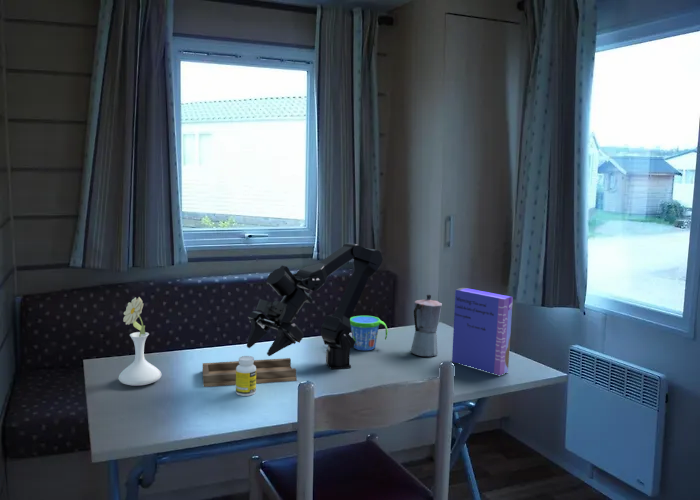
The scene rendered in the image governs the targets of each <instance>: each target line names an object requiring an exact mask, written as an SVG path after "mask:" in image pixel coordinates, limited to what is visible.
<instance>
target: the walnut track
mask: <svg viewBox="0 0 700 500" xmlns="http://www.w3.org/2000/svg"><path fill="white" fill-rule="evenodd" d="M291 360H292V359H291V358H290V357H289V358H288V357H287V358H286V357H285V358H271V359H254V363H253V365H255V366H256V384H267V383H268V384H269V383H280V382H295V381H296V382H297V381H298V380H297V379H298V378H297V369H296V368H295V367H294V368H292V366H291V365H292V363H291ZM238 365H240V364H239V360H237V361H236V360H235V361H233V360H232V361H219V362H202V383H203V384H202V385H203V388H207V387H210V388H211V387H225V386H236V367H237V366H238Z"/></svg>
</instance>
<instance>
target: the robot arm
mask: <svg viewBox="0 0 700 500" xmlns="http://www.w3.org/2000/svg"><path fill="white" fill-rule="evenodd" d="M351 260H353V264H352V265H353V273H352V275H351V277H350V280H349V282H348V284H347V286H346V289H345V291H344V293H343V295H342V297H341V299H340V302H339V304H338V306H337V308H336V311H335V312H334V313H332V314H331V315H329V314H326V316H325V317H324V320H323V323H322V324H321V325H320V327H321V330H320V334H321V338H322V340H323V343H324V345H326V346H327V350H325V353H326V354H325V363H326V365H327V366H328V368H329V369H330V370H337V369H351V368H352V366H351V364H350V360H351V359H350V355H351V354H350V353H351V349H353V348H354V344H355V340H354V339H353V338H352V335H350V334H351V333H350V332H351V325H350V318H351V317H353V316H352V315H353V313H354V310H355V309H356V306H357V304H358V302H359V300H360V298H361V296H362V294H363V291H364V289H365V287H366V285H367V282H368V280H369V278H371V277H372V276H373V275H374V274H375V273H376V272H378V270H379V268H380V266H381V264H382V263H383V255H382V253H381V251H380V250H378V249H372V248H368V247H367V248H366V247H362V246H360V245H359V244H356V243H352V242H346V243H344V244H343V245H342V247H340V248H339V249H338V250H336V251H334V252H333V253H332V254H329V255H328V256H327V257H325V258H324V259H322V260H321V261H319V262H318V263H315V264H310V265H307V266H305V267H302V268H300V269H299V270H297V272H295V273H292V272H291V270H290V269H289V268H288V266H287V265H281V266H280V267H279V268H277V269H275V270H272V272H270V273H269V274H268V276H267V278H266V281H267V284H269V286H270V287H271V288H272V289H273V290H274V291H275V292H276V293H277V295H278V296H280V297H282V299H281V301H278V300H274V301H273V302H271V301H268V300H264V299H261V298H259V301H258V302H257V303H258V304H257V306H256V309H255V310H254V311H251V312H250V314H249V315H248V316H247V318H248V319H249V323H251V324H250V325H251V330H250V334H249V337H248V340H247V344H246V347H247V348H248V349H250V348H252V347H253V346H254V345H255V344H257V342H259V341H260V340H261V339H262V338H263V337H265V335H266V334H267V333H268V332H267V331H268V330H270V328H271V329H274V330H275V331H276V330H277V334H276V335H277V336H276V337H275V339H274V341H273V342H272V344H271V345H270V347H269V348H268V350H267V352H266V355H267V356H268V357H271V356H273V355H274V354H276V353H278V352H280V351H281V350H283V349H284V348H288V347H289V346H291V345H295V344H296V342H297V343H300V342H301V341H302V340H303V338H304V332H303V330H302V329H301V328H300V327H299V326H298V325H297V324H296V323H294V322H292V321H293V320H294V319H295V320H298V318H299V315H298V313H299V311H300V310H301V308H302V307H303V306H304V304H305V303H307V304H312V303H313V298H312V293H308V292H306V290H307V291H308V290H309V291H311V292H316V291H318V290H319V289H320V288H321V287H323V286H324V284H325V283H326V282H327V279H328V277H329V276H331V275H332V274H333V273H334V272H336V271H337V270H339V269H340V268H342V267H344V265H346V264H347V263H349V262H350V261H351ZM354 349H355V348H354Z"/></svg>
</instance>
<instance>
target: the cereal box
mask: <svg viewBox="0 0 700 500" xmlns="http://www.w3.org/2000/svg"><path fill="white" fill-rule="evenodd" d="M513 298H514V297H513V296H509V295H503V294H499V293H493V292H489V291H484V290H483V291H482V290H478V289H472V288H467V287H459V288H457V289H455V293H454V317H453V333H452V335H453V336H452V355H451V363H453V362H454V363H453V364H456V363H460V364H463V365H467V366H471V367H474V368H477V369H481V370H484V371H487V372H490V373H494V374H497V375H502V374H504V373H507V372H508V373H509V361H510V345H511V333H512V332H511V329H512V317H513V315H512V312H513V300H514V299H513ZM463 365H462V366H463ZM508 373H507V374H508ZM502 376H503V375H502Z"/></svg>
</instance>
